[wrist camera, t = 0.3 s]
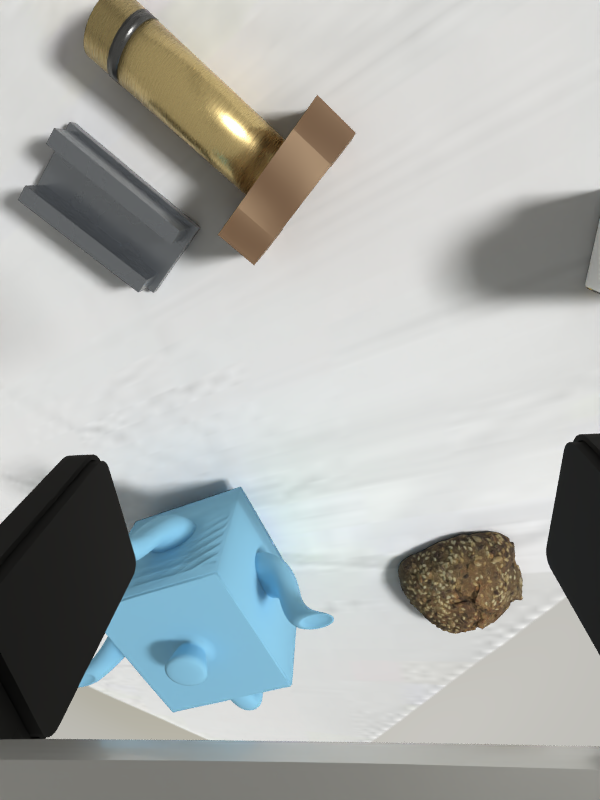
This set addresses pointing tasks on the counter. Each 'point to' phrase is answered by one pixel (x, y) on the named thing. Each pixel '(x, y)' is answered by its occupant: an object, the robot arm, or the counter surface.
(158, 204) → the cradle
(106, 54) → the axle
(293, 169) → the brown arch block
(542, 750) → the robot arm
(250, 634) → the teakettle
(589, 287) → the medicine bottle
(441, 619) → the bread roll
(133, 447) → the counter surface
